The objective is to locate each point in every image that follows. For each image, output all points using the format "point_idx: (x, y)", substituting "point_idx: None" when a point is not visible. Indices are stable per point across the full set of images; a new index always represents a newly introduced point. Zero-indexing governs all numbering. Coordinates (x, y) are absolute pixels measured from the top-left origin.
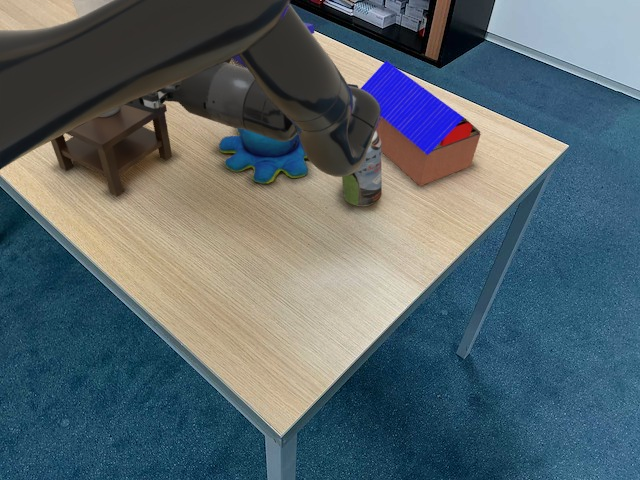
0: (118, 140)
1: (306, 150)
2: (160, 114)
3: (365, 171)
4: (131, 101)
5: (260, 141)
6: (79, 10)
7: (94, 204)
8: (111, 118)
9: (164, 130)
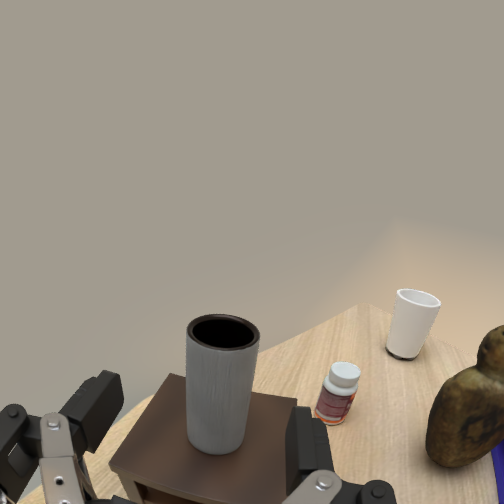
0: (143, 483)
1: None
2: None
3: None
4: (15, 461)
5: None
6: (392, 321)
7: (113, 489)
8: (192, 453)
9: None
